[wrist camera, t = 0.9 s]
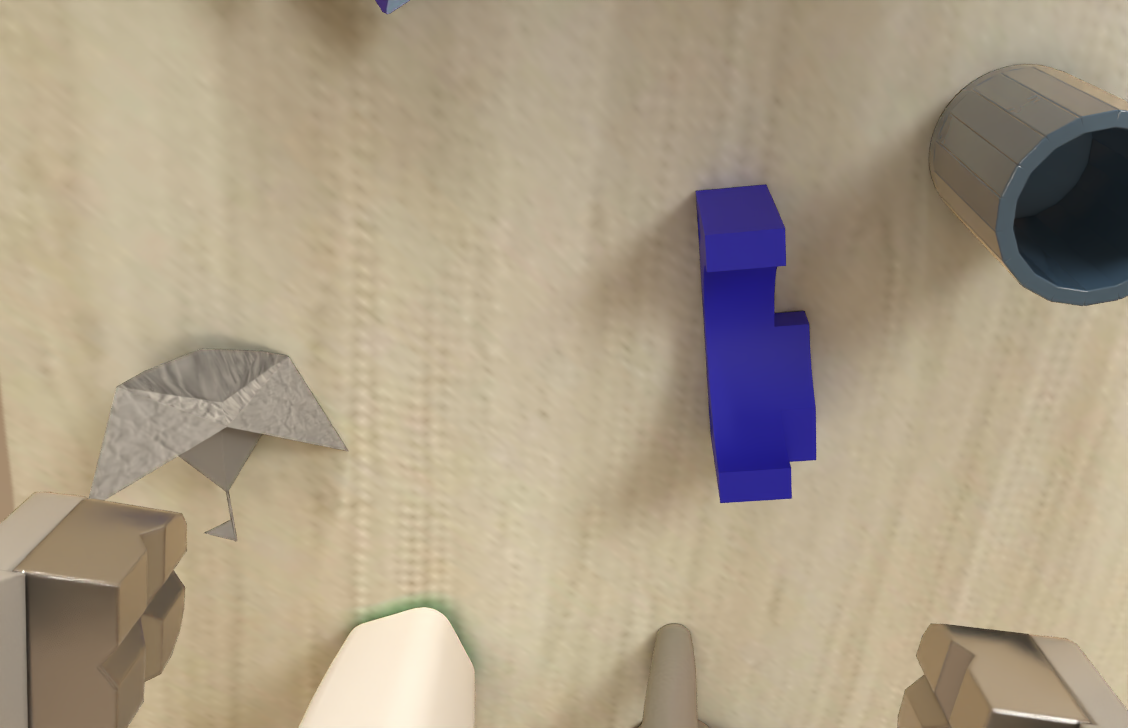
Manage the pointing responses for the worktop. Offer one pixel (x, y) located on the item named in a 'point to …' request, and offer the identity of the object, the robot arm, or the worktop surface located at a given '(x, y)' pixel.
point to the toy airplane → (390, 5)
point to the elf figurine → (672, 682)
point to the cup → (397, 677)
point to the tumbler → (1040, 179)
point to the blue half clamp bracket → (752, 348)
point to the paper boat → (206, 418)
